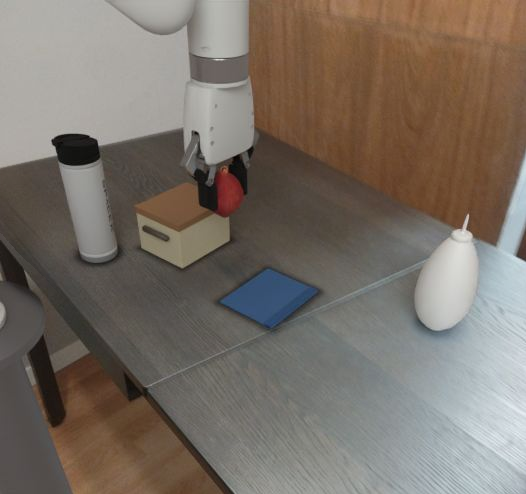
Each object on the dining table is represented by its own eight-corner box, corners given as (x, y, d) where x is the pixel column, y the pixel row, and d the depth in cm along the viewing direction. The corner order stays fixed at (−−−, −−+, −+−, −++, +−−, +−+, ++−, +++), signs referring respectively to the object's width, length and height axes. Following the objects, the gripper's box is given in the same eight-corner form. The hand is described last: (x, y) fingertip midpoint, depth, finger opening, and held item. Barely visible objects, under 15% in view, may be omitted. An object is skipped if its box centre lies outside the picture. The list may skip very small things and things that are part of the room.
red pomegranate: (217, 230, 78) (215, 178, 73) (198, 214, 82) (195, 163, 77) (250, 220, 81) (250, 169, 76) (230, 205, 85) (230, 155, 79)
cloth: (271, 329, 77) (271, 326, 77) (219, 302, 82) (219, 299, 81) (317, 292, 84) (318, 289, 84) (268, 269, 89) (268, 267, 88)
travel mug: (71, 254, 91) (42, 135, 78) (105, 240, 95) (82, 124, 81) (91, 268, 88) (64, 147, 74) (125, 254, 91) (105, 135, 78)
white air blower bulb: (473, 333, 77) (515, 220, 66) (433, 349, 74) (469, 235, 63) (435, 304, 83) (467, 195, 71) (396, 319, 80) (423, 207, 68)
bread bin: (178, 271, 88) (173, 228, 82) (136, 250, 92) (129, 207, 87) (230, 240, 96) (229, 198, 90) (189, 222, 100) (186, 181, 95)
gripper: (240, 50, 74) (241, 175, 86) (148, 76, 64) (163, 213, 76) (283, 60, 71) (278, 188, 83) (193, 88, 61) (202, 230, 73)
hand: (223, 199), depth 80 cm, fingers closed on red pomegranate, 5 cm apart
